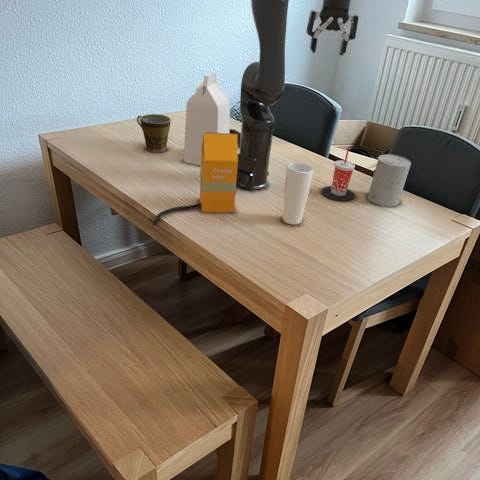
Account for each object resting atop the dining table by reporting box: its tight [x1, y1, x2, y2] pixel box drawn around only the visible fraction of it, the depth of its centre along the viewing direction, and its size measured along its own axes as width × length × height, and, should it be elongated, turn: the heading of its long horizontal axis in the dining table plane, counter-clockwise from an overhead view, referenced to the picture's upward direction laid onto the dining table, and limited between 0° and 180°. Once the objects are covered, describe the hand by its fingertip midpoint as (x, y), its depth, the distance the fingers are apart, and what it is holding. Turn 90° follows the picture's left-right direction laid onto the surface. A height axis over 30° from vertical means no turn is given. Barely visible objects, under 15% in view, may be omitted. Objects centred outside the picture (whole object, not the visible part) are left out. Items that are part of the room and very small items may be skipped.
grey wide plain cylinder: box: [367, 153, 412, 208], centre depth 142 cm, size 10×10×12 cm
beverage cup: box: [331, 146, 356, 196], centre depth 142 cm, size 6×6×14 cm
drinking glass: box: [281, 162, 314, 226], centre depth 125 cm, size 7×7×15 cm
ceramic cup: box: [136, 113, 172, 153], centre depth 160 cm, size 13×10×10 cm
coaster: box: [321, 185, 355, 202], centre depth 146 cm, size 10×10×1 cm
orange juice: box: [199, 133, 239, 213], centre depth 127 cm, size 8×9×20 cm
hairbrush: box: [229, 128, 241, 148], centre depth 174 cm, size 8×4×25 cm
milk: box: [183, 71, 231, 166], centre depth 151 cm, size 12×12×26 cm
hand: (327, 53), depth 142 cm, fingers open, 8 cm apart
